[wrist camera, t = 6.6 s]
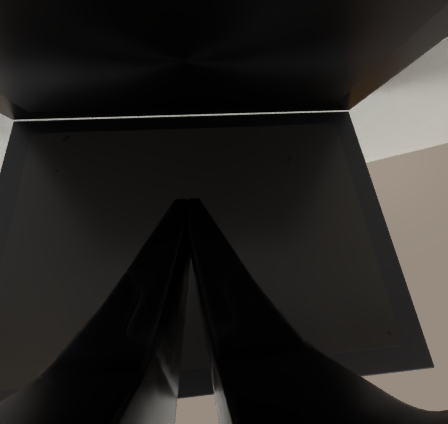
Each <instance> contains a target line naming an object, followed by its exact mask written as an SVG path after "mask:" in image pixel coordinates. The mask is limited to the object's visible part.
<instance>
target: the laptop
mask: <svg viewBox="0 0 448 424" xmlns="http://www.w3.org/2000/svg"><path fill="white" fill-rule="evenodd" d="M447 36H448V0H0V113H1V114H3V115H5V116H7V117H8V118H10V119H13V120H16V119H51V118H85V117H120V116H155V115H189V114H224V113H258V112H293V111H328V110H350V109H351V108H352V107H354V106H355V105H356V104H358V103H359V102H360V101H362V100H363V99H364V98H366V97H367V96H368V95H370V94H371V93H372V92H374V91H375V90H376V89H378V88H379V87H380V86H382V85H383V84H384V83H386V82H387V81H388V80H390V79H391V78H392V77H394V76H395V75H396V74H398V73H399V72H400V71H402V70H403V69H404V68H406V67H407V66H408V65H410V64H411V63H412V62H414V61H415V60H416V59H418V58H419V57H420V56H422V55H423V54H424V53H426V52H427V51H428V50H430V49H431V48H432V47H434V46H435V45H436V44H438V43H439V42H440V41H442V40H443V39H444V38H446V37H447Z"/></svg>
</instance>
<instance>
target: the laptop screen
mask: <svg viewBox="0 0 448 424" xmlns="http://www.w3.org/2000/svg"><path fill="white" fill-rule="evenodd" d="M182 198H186V199H187V200H188V198H200V199H201V201H202V202H203V204H204V205H205V207H206V208H207V210H208V211H209V213H210V214H211V216H212V217H213V219H214V220H215V222H216V223H217V225H218V226H219V228H220V229H221V231H222V232H223V234H224V235H225V237H226V238H227V240H228V241H229V243H230V244H231V246H232V247H233V249H234V250H235V252H236V253H237V255H238V256H239V258H240V259H241V261H242V263H243V264H244V265H245V267H246V268H247V270H248V271H249V273H250V274H251V275H252V277H253V278H254V280H255V281H256V282H257V284H258V285H259V286H260V287H261V289H262V290H263V291H264V292H265V294H266V295H267V296H268V297H269V298H270V299H271V301H272V302H273V303H274V304H275V305H276V306H277V307H278V309H279V310H280V311H281V312H282V313H283V314H284V315H285V317H286V318H287V319H288V320H289V321H290V322H291V323H292V325H293V326H294V327H295V328H296V329H297V330H298V331H299V333H300V334H301V335H302V336H303V337H304V338H305V339H306V340H307V341H308V342H309V343H310V344H312V345H313V346H314V347H315V348H317V349H318V350H319V351H321V352H322V353H324V354H325V355H327V356H328V357H330V358H332V359H333V360H335V361H336V362H338V363H340V364H341V365H343V366H344V367H346V368H348V369H349V370H351V371H352V372H354V373H356V374H357V375H359V376H361V377H362V376H370V375H378V374H387V373H395V372H403V371H412V370H420V369H428V368H434V364H433V362H432V358H431V355H430V352H429V349H428V347H427V344H426V341H425V338H424V335H423V332H422V329H421V326H420V323H419V320H418V317H417V314H416V311H415V308H414V305H413V302H412V299H411V296H410V293H409V290H408V287H407V284H406V281H405V278H404V275H403V272H402V269H401V266H400V263H399V260H398V257H397V254H396V251H395V249H394V246H393V243H392V240H391V237H390V234H389V231H388V228H387V225H386V222H385V219H384V216H383V213H382V210H381V207H380V204H379V201H378V199H377V195H376V192H375V189H374V186H373V183H372V180H371V177H370V174H369V171H368V168H367V165H366V162H365V159H364V156H363V153H362V150H361V148H360V145H359V142H358V139H357V136H356V133H355V130H354V127H353V124H352V121H351V118H350V115H349V112H321V113H287V114H253V115H219V116H185V117H152V118H118V119H84V120H50V121H16V122H14V123H13V127H12V130H11V134H10V138H9V142H8V146H7V149H6V153H5V157H4V161H3V164H2V168H1V172H0V401H2V400H3V399H5V398H6V397H8V396H9V395H11V394H12V393H14V392H15V391H17V390H18V389H20V388H21V387H23V386H24V385H26V384H27V383H28V382H30V381H31V380H32V379H33V378H35V377H36V376H37V375H38V374H39V373H40V372H42V371H43V370H44V369H45V368H46V367H47V366H48V365H49V364H50V363H51V362H52V361H53V360H54V359H55V357H56V356H57V355H58V354H59V353H60V352H61V351H62V349H63V348H64V347H65V346H66V345H67V344H68V342H69V341H70V340H71V339H72V338H73V337H74V335H75V334H76V333H77V332H78V331H79V330H80V328H81V327H82V326H83V325H84V324H85V323H86V321H87V320H88V319H89V318H90V317H91V316H92V314H93V313H94V312H95V311H96V309H97V308H98V307H99V306H100V305H101V303H102V302H103V301H104V300H105V299H106V297H107V296H108V295H109V293H110V292H111V291H112V289H113V288H114V286H115V285H116V284H117V282H118V281H119V279H120V278H121V276H122V275H123V274H124V272H126V269H127V268H128V267H129V265H130V264H131V262H132V261H133V259H134V258H135V256H136V255H137V253H138V252H139V251H140V249H141V248H142V246H143V245H144V243H145V242H146V240H147V239H148V238H149V236H150V235H151V233H152V232H153V230H154V229H155V227H156V226H157V224H158V223H159V222H160V220H161V219H162V217H163V216H164V214H165V213H166V211H167V210H168V208H169V207H170V206H171V204H172V203H173V201H174V200H175V199H182ZM212 394H214V391H213V385H212V380H211V374H210V368H209V362H208V356H207V350H206V344H205V338H204V333H203V327H202V321H201V315H200V309H199V303H198V297H197V292H196V286H195V280H194V274H193V268H192V261H190V273H189V283H188V293H187V304H186V314H185V324H184V334H183V345H182V355H181V365H180V376H179V386H178V396H177V399H179V398H187V397H196V396H204V395H212Z"/></svg>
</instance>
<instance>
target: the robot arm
mask: <svg viewBox="0 0 448 424" xmlns="http://www.w3.org/2000/svg"><path fill="white" fill-rule="evenodd" d="M190 261H192V268H193V274H194V280H195V286H196V292H197V297H198V303H199V309H200V315H201V321H202V327H203V333H204V338H205V344H206V350H207V356H208V362H209V368H210V374H211V380H212V385H213V391H214V397H215V402H216V409H217V415H218V421H219V424H448V410H445V411H426V410H423V409H419V408H416V407H413V406H411V405H408V404H406V403H404V402H402V401H400V400H398V399H396V398H394V397H393V396H391V395H389V394H388V393H386V392H384V391H383V390H381V389H380V388H378V387H377V386H375V385H373V384H372V383H370V382H369V381H367V380H365V379H364V378H362V377H361V376H359V375H357V374H356V373H354V372H352V371H351V370H349V369H348V368H346V367H344V366H343V365H341V364H340V363H338V362H336V361H335V360H333V359H332V358H330V357H328V356H327V355H325V354H324V353H322V352H321V351H319V350H318V349H317V348H315V347H314V346H313V345H312V344H310V343H309V342H308V341H307V340H306V339H305V338H304V337H303V336H302V335H301V334H300V333H299V331H298V330H297V329H296V328H295V327H294V326H293V325H292V323H291V322H290V321H289V320H288V319H287V318H286V317H285V315H284V314H283V313H282V312H281V311H280V310H279V309H278V307H277V306H276V305H275V304H274V303H273V302H272V301H271V299H270V298H269V297H268V296H267V295H266V294H265V292H264V291H263V290H262V289H261V287H260V286H259V285H258V284H257V282H256V281H255V280H254V278H253V277H252V275H251V274H250V273H249V271H248V270H247V268H246V267H245V265H244V264H243V263H242V261H241V259H240V258H239V256H238V255H237V253H236V252H235V250H234V249H233V247H232V246H231V244H230V243H229V241H228V240H227V238H226V237H225V235H224V234H223V232H222V231H221V229H220V228H219V226H218V225H217V223H216V222H215V220H214V219H213V217H212V216H211V214H210V213H209V211H208V210H207V208H206V207H205V205H204V204H203V202H202V201H201V199H200V198H188V200H187V199H186V198H182V199H175V200H174V201H173V203H172V204H171V206H170V207H169V208H168V210H167V211H166V213H165V214H164V216H163V217H162V219H161V220H160V222H159V223H158V224H157V226H156V227H155V229H154V230H153V232H152V233H151V235H150V236H149V238H148V239H147V240H146V242H145V243H144V245H143V246H142V248H141V249H140V251H139V252H138V253H137V255H136V256H135V258H134V259H133V261H132V262H131V264H130V265H129V267H128V268H127V269H126V272H124V274H123V275H122V276H121V278H120V279H119V281H118V282H117V284H116V285H115V286H114V288H113V289H112V291H111V292H110V293H109V295H108V296H107V297H106V299H105V300H104V301H103V302H102V303H101V305H100V306H99V307H98V308H97V309H96V311H95V312H94V313H93V314H92V316H91V317H90V318H89V319H88V320H87V321H86V323H85V324H84V325H83V326H82V327H81V328H80V330H79V331H78V332H77V333H76V334H75V335H74V337H73V338H72V339H71V340H70V341H69V342H68V344H67V345H66V346H65V347H64V348H63V349H62V351H61V352H60V353H59V354H58V355H57V356H56V357H55V359H54V360H53V361H52V362H51V363H50V364H49V365H48V366H47V367H46V368H45V369H44V370H43V371H42V372H40V373H39V374H38V375H37V376H36V377H35V378H33V379H32V380H31V381H30V382H28V383H27V384H26V385H24V386H23V387H21V388H20V389H18V390H17V391H15V392H14V393H12V394H11V395H9V396H8V397H6V398H5V399H3V400H2V401H0V424H175V417H176V407H177V396H178V386H179V376H180V365H181V355H182V345H183V334H184V324H185V314H186V304H187V293H188V283H189V273H190Z"/></svg>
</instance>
